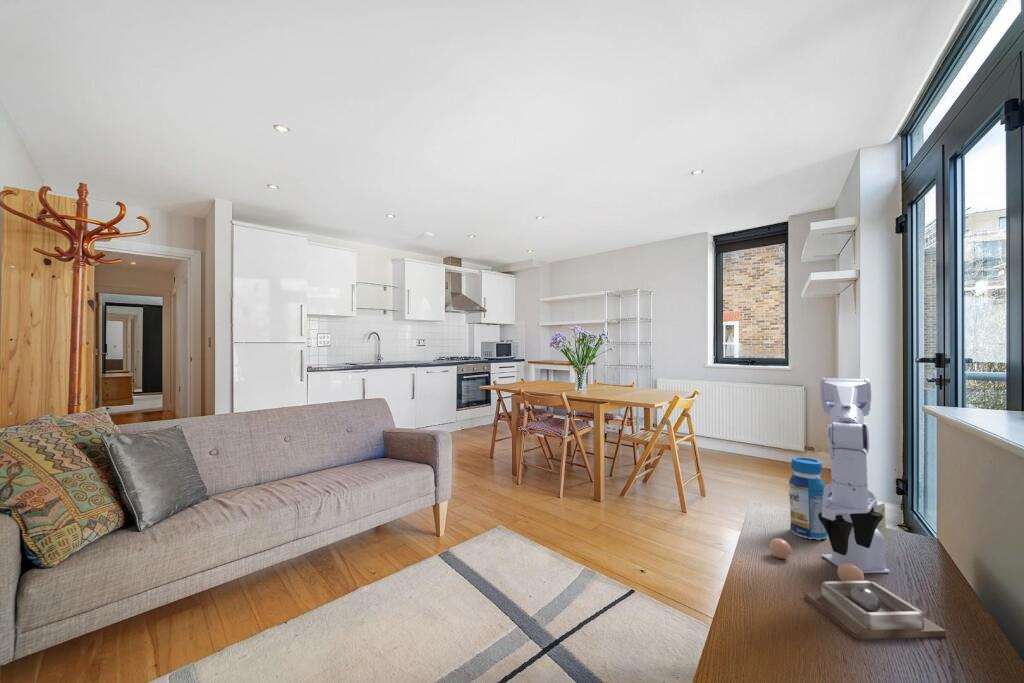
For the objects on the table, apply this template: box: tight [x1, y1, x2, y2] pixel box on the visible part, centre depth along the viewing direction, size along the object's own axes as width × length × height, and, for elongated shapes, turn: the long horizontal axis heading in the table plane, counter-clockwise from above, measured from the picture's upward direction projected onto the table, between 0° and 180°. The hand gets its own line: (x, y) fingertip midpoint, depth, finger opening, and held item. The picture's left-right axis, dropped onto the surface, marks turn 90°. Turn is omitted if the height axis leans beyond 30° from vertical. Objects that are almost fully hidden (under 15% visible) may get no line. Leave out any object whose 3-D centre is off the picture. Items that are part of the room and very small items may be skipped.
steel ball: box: [849, 587, 880, 612], centre depth 76 cm, size 4×4×4 cm
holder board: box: [804, 580, 947, 640], centre depth 77 cm, size 16×12×4 cm
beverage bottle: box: [788, 457, 828, 541], centre depth 111 cm, size 8×8×20 cm
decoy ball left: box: [837, 563, 865, 581], centre depth 87 cm, size 4×4×4 cm
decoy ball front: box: [769, 538, 792, 560], centre depth 99 cm, size 4×4×4 cm
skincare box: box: [876, 500, 888, 553], centre depth 101 cm, size 6×4×12 cm
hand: (851, 549), depth 83 cm, fingers open, 7 cm apart
